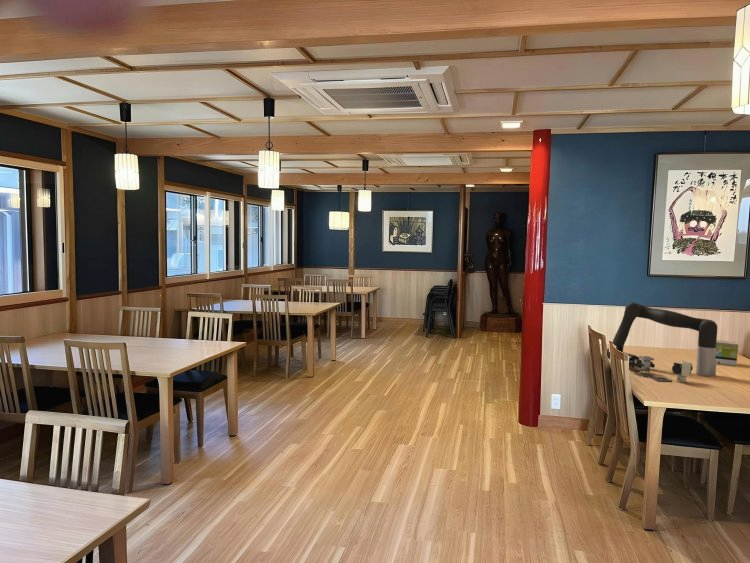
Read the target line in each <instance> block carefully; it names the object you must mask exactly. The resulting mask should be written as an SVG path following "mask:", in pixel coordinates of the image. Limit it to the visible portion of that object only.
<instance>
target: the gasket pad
mask: <svg viewBox="0 0 750 563" xmlns="http://www.w3.org/2000/svg"><path fill="white" fill-rule="evenodd" d="M649 378H650V379H651V380H653V381H655V380H656V381H655V382H657V383H658V382H661V383H662V382H663V383H672V382H673V381H672V380H670V379H668V378H666V377H661V376H660V377H659V376H658V377H656V376H653V377H649Z"/></svg>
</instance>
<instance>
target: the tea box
mask: <svg viewBox="0 0 750 563" xmlns="http://www.w3.org/2000/svg"><path fill="white" fill-rule="evenodd" d="M738 350H739V344H738V343H737V342H735V341H728V340H718V339H717V341H716V353H715V360H716V361H717V362H716V365H724V364H725V366H732V365H736V366H737V363H738Z"/></svg>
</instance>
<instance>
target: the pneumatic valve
mask: <svg viewBox="0 0 750 563" xmlns="http://www.w3.org/2000/svg"><path fill="white" fill-rule="evenodd" d="M693 368H694V367H693V363H692V362H689V361H688V362H687V361H684V360H682V361H677V362H673V365H672V366H671V371H672V374H674V375H677V376H676V377H677V378H676V382H679V383H686V382H687V375H692V372H693Z"/></svg>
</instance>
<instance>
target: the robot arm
mask: <svg viewBox="0 0 750 563" xmlns="http://www.w3.org/2000/svg"><path fill="white" fill-rule="evenodd" d="M637 318H640V319H647V320H650V321H652V322H655V323H658V324H661V325H664V326H668V327H672V328H678V329H682V328H683V329H690V330H693V331H697V332H698V340H697V353H696V354H697V356H696V369H695V374H696V375H698V376H702V377H703V376H704V377H716V375H717V374H716V373H717V364H716V362H717V361H716V360H715V353H716V341H717V340H718V339H717V338H718V325H717V323H716V322H715V321H714V320H712V319H707V318H699V317H698V318H697V317H694V316H690V315H688V314H684V313H679V312H676V311H672V310H669V309H662V308H661V309H660V308H652V307H649V306H645V305H642V304H639V303H636V302H629V303H627V304H626V305H625V307H624V312H623V317H622V319H621V322H620V325H619V326H618V329H617V331H616V333H615V335H614V337H613V339H612V345H614V346H615V349H617V350H619V351H621V352H623V353H625V354H627V355H628V356H629V366H628V367H629V368H634V369H635V368H639V369H641V368H642V364H641V362H642V359H640V358H639V356H637V355H635V354H632V353H628V352H625V351H624V348H625V347H624V346H625V344H626V341H627V340H628V337H629V334H630V331H631V327H632V325H633V323H634V321H635V320H636V319H637ZM609 348H610V347H608V348H606V349H607V356H608V358H607V359H609V360H611V359H610V352H609ZM655 366H656V365H655V363H653V361H651V363H650V368H654V369H655Z"/></svg>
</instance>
